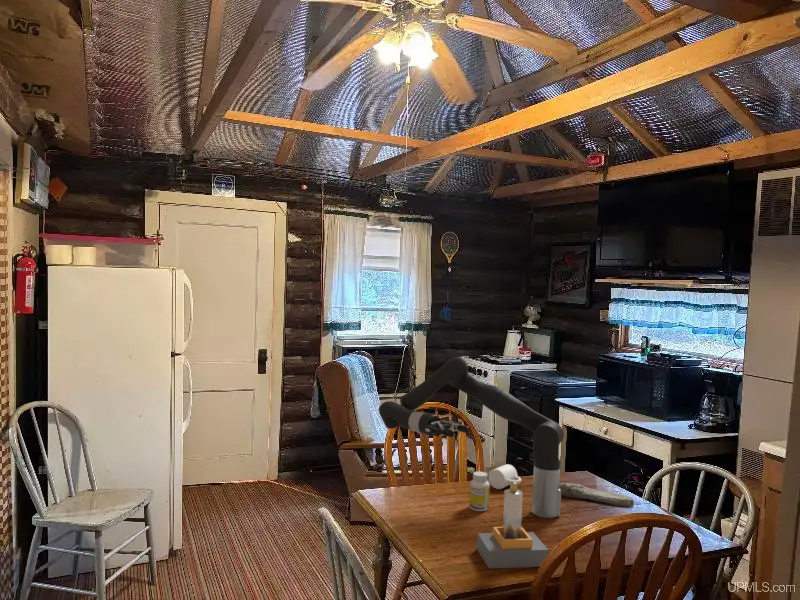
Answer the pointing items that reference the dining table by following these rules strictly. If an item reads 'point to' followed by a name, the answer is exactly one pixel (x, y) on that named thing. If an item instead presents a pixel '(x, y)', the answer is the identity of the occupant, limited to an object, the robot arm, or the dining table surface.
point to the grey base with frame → (511, 549)
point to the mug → (503, 476)
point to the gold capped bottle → (512, 512)
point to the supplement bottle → (479, 492)
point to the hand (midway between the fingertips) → (461, 432)
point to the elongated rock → (594, 494)
